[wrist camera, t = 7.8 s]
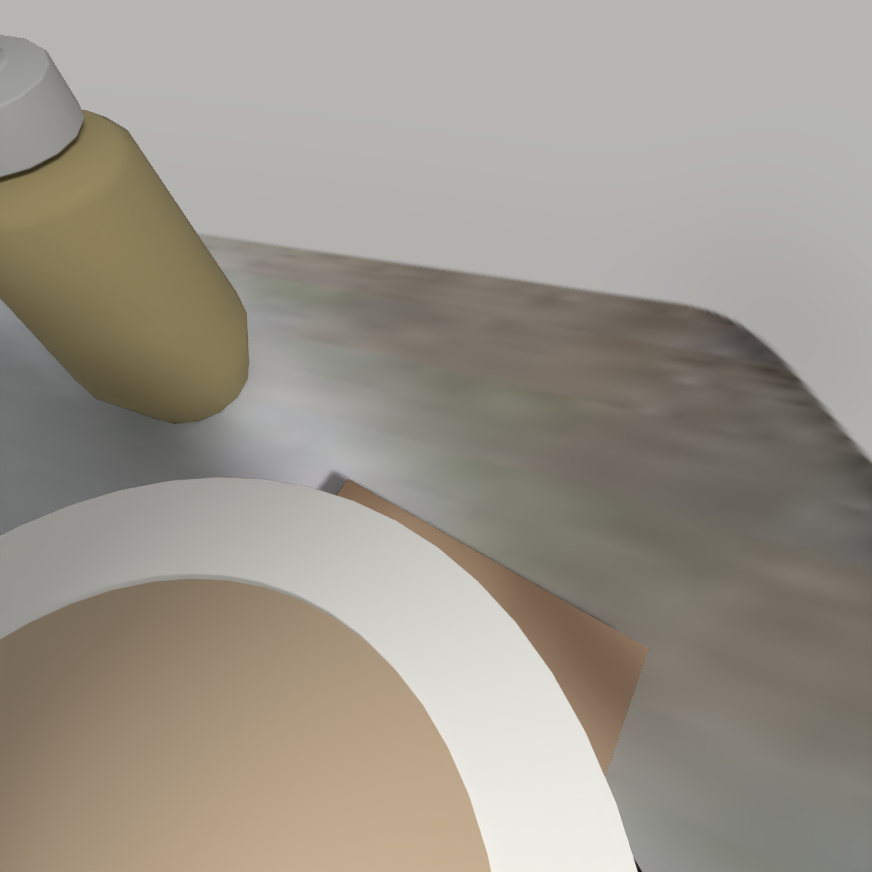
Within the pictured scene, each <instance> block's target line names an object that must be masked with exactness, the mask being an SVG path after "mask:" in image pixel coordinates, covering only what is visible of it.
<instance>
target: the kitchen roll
mask: <svg viewBox="0 0 872 872" xmlns="http://www.w3.org/2000/svg"><path fill="white" fill-rule="evenodd" d="M0 872H638V871H637V868H636V865H635V862H634V858H633V855H632V852H631V849H630V846H629V843H628V839H627V836H626V833H625V830H624V827H623V824H622V820H621V817H620V814H619V811H618V808H617V805H616V802H615V800H614V797H613V795H612V793H611V790H610V788H609V786H608V783H607V781H606V779H605V776H604V774H603V772H602V769H601V767H600V765H599V762H598V760H597V758H596V755H595V753H594V751H593V748H592V746H591V744H590V741H589V739H588V737H587V734H586V732H585V730H584V729H583V727H582V725H581V723H580V721H579V720H578V718H577V716H576V714H575V713H574V711H573V709H572V707H571V705H570V704H569V702H568V700H567V698H566V697H565V695H564V693H563V691H562V689H561V688H560V686H559V684H558V682H557V681H556V679H555V677H554V675H553V673H552V672H551V671H550V669H549V668H548V666H547V665H546V664H545V662H544V661H543V659H542V658H541V657H540V655H539V654H538V652H537V651H536V650H535V648H534V647H533V646H532V644H531V643H530V641H529V640H528V639H527V637H526V636H525V634H524V633H523V632H522V630H521V629H520V628H519V626H518V625H517V623H516V622H515V621H514V620H513V619H512V618H511V617H510V616H509V615H508V613H507V612H506V611H505V610H504V609H503V608H502V607H501V606H500V605H499V604H498V603H497V602H496V600H495V599H494V598H493V597H492V596H491V595H490V594H489V593H488V592H487V591H486V590H485V589H484V587H483V586H482V585H481V584H480V583H479V582H478V581H477V580H476V579H475V578H473V577H472V576H471V575H470V574H469V573H467V572H466V571H465V570H464V569H463V568H462V567H460V566H459V565H458V564H457V563H456V562H454V561H453V560H452V559H451V558H450V557H448V556H447V555H446V554H445V553H444V552H443V551H441V550H440V549H439V548H438V547H436V546H435V545H433V544H432V543H430V542H428V541H427V540H425V539H424V538H422V537H421V536H419V535H418V534H416V533H414V532H413V531H411V530H410V529H408V528H407V527H405V526H403V525H402V524H400V523H399V522H397V521H395V520H393V519H391V518H389V517H387V516H385V515H383V514H380V513H378V512H376V511H374V510H372V509H370V508H368V507H365V506H363V505H361V504H359V503H357V502H355V501H352V500H349V499H346V498H343V497H339V496H336V495H333V494H330V493H327V492H323V491H320V490H317V489H314V488H311V487H306V486H300V485H294V484H289V483H283V482H277V481H271V480H266V479H248V478H226V477H212V478H199V479H185V480H172V481H165V482H160V483H155V484H149V485H144V486H139V487H134V488H128V489H123V490H119V491H115V492H112V493H109V494H105V495H102V496H99V497H95V498H92V499H89V500H85V501H82V502H79V503H75V504H72V505H69V506H67V507H64V508H62V509H59V510H57V511H55V512H52V513H50V514H47V515H45V516H42V517H40V518H37V519H35V520H33V521H30V522H28V523H25V524H23V525H20V526H18V527H16V528H14V529H12V530H10V531H8V532H6V533H5V534H3V535H1V536H0Z"/></svg>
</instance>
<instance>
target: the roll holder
mask: <svg viewBox="0 0 872 872" xmlns="http://www.w3.org/2000/svg"><path fill="white" fill-rule="evenodd" d="M336 496H339V497H343V498H346V499H349V500H352V501H355V502H357V503H359V504H361V505H363V506H365V507H368V508H370V509H372V510H374V511H376V512H378V513H380V514H383V515H385V516H387V517H389V518H391V519H393V520H395V521H397V522H399V523H400V524H402V525H403V526H405V527H407V528H408V529H410V530H411V531H413V532H414V533H416V534H418V535H419V536H421V537H422V538H424V539H425V540H427V541H428V542H430V543H432V544H433V545H435V546H436V547H438V548H439V549H440V550H441V551H443V552H444V553H445V554H446V555H447V556H448V557H450V558H451V559H452V560H453V561H454V562H456V563H457V564H458V565H459V566H460V567H462V568H463V569H464V570H465V571H466V572H467V573H469V574H470V575H471V576H472V577H473V578H475V579H476V580H477V581H478V582H479V583H480V584H481V585H482V586H483V587H484V589H485V590H486V591H487V592H488V593H489V594H490V595H491V596H492V597H493V598H494V599H495V600H496V602H497V603H498V604H499V605H500V606H501V607H502V608H503V609H504V610H505V611H506V612H507V613H508V615H509V616H510V617H511V618H512V619H513V620H514V621H515V622H516V623H517V625H518V626H519V628H520V629H521V630H522V632H523V633H524V634H525V636H526V637H527V639H528V640H529V641H530V643H531V644H532V646H533V647H534V648H535V650H536V651H537V652H538V654H539V655H540V657H541V658H542V659H543V661H544V662H545V664H546V665H547V666H548V668H549V669H550V671H551V672H552V673H553V675H554V677H555V679H556V681H557V682H558V684H559V686H560V688H561V689H562V691H563V693H564V695H565V697H566V698H567V700H568V702H569V704H570V705H571V707H572V709H573V711H574V713H575V714H576V716H577V718H578V720H579V721H580V723H581V725H582V727H583V729H584V730H585V732H586V734H587V737H588V739H589V741H590V744H591V746H592V748H593V751H594V753H595V755H596V758H597V760H598V762H599V765H600V767H601V769H602V772H603V774H604V776H606V773H607V770H608V767H609V764H610V761H611V758H612V755H613V752H614V749H615V746H616V743H617V740H618V737H619V734H620V731H621V728H622V725H623V723H624V720H625V717H626V714H627V711H628V708H629V705H630V702H631V699H632V696H633V693H634V690H635V687H636V684H637V681H638V678H639V675H640V672H641V669H642V667H643V664H644V661H645V658H646V655H647V652H648V648H647V647H645V646H643V645H641V644H639V643H638V642H636V641H634V640H632V639H631V638H629V637H627V636H625V635H624V634H622V633H620V632H618V631H616V630H615V629H613V628H611V627H609V626H608V625H606V624H604V623H602V622H601V621H599V620H597V619H595V618H593V617H592V616H590V615H588V614H586V613H585V612H583V611H581V610H579V609H578V608H576V607H574V606H572V605H570V604H569V603H567V602H565V601H563V600H562V599H560V598H558V597H556V596H555V595H553V594H551V593H549V592H547V591H546V590H544V589H542V588H540V587H539V586H537V585H535V584H533V583H531V582H530V581H528V580H526V579H524V578H523V577H521V576H519V575H517V574H516V573H514V572H512V571H510V570H508V569H507V568H505V567H503V566H501V565H500V564H498V563H496V562H494V561H493V560H491V559H489V558H487V557H485V556H484V555H482V554H480V553H478V552H477V551H475V550H473V549H471V548H470V547H468V546H466V545H464V544H462V543H461V542H459V541H457V540H455V539H454V538H452V537H450V536H448V535H447V534H445V533H443V532H441V531H439V530H438V529H436V528H434V527H432V526H431V525H429V524H427V523H425V522H424V521H422V520H420V519H418V518H416V517H415V516H413V515H411V514H409V513H408V512H406V511H404V510H402V509H400V508H399V507H397V506H395V505H393V504H392V503H390V502H388V501H386V500H385V499H383V498H381V497H379V496H377V495H376V494H374V493H372V492H370V491H369V490H367V489H365V488H363V487H362V486H360V485H358V484H356V483H354V482H353V481H351V480H349V479H348V480H347V481H346V483H345V484H344V486H343V487H342V488H341V490H340V491H339V493H338V494H337V495H336Z"/></svg>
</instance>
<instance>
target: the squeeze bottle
mask: <svg viewBox="0 0 872 872" xmlns="http://www.w3.org/2000/svg"><path fill="white" fill-rule="evenodd" d="M0 298H1V299H2V300H3V302H4V303H5V304H6V305H7V306H8V307H9V308H10V309H11V310H12V311H13V312H14V314H15V315H16V316H17V317H18V318H19V319H20V320H21V321H22V322H23V323H24V324H25V326H26V327H27V328H28V329H29V330H30V331H31V332H32V333H33V334H34V335H35V336H36V338H37V339H38V340H39V341H40V342H41V343H42V344H43V345H44V346H45V347H46V348H47V349H48V351H49V352H50V353H51V354H52V355H53V356H54V357H55V358H56V359H57V360H58V361H59V363H60V364H61V365H62V366H63V367H64V368H65V369H66V370H67V371H68V372H69V373H70V375H71V376H72V377H73V378H74V379H75V380H76V381H77V382H78V383H79V384H80V385H82V386H83V387H84V388H85V389H86V390H87V391H88V392H89V393H90V394H92V395H93V396H94V397H95V398H96V399H99V400H102V401H105V402H108V403H111V404H114V405H117V406H120V407H123V408H126V409H128V410H131V411H134V412H137V413H140V414H143V415H146V416H149V417H152V418H155V419H159V420H163V421H167V422H170V423H174V424H177V423H187V422H196V421H200V420H202V419H205V418H207V417H209V416H212V415H214V414H216V413H219V412H221V411H222V410H223V409H224V408H225V407H226V406H227V405H229V404H230V403H231V402H232V401H233V400H234V399H236V398H237V397H238V395H239V393H240V392H241V390H242V388H243V386H244V384H245V383H246V381H247V378H248V366H249V355H248V331H247V313H246V311H245V309H244V307H243V305H242V303H241V301H240V298H239V296H238V294H237V292H236V291H235V289H234V288H233V286H232V285H231V283H230V282H229V280H228V279H227V277H226V276H225V274H224V273H223V272H222V270H221V269H220V267H219V266H218V264H217V263H216V261H215V260H214V258H213V257H212V255H211V254H210V252H209V251H208V249H207V248H206V246H205V245H204V243H203V242H202V240H201V239H200V237H199V236H198V234H197V233H196V231H195V230H194V228H193V227H192V225H191V224H190V222H189V221H188V219H187V218H186V216H185V215H184V214H183V212H182V211H181V209H180V207H179V206H178V204H177V203H176V202H175V200H174V198H173V197H172V196H171V194H170V193H169V191H168V190H167V188H166V187H165V185H164V184H163V182H162V181H161V179H160V178H159V176H158V175H157V173H156V172H155V170H154V169H153V167H152V166H151V164H150V163H149V161H148V160H147V158H146V157H145V155H144V154H143V152H142V151H141V149H140V148H139V146H138V145H137V143H136V142H135V140H134V139H133V137H132V136H131V134H130V133H129V132H128V130H126V129H125V128H123V127H121V126H120V125H118V124H116V123H115V122H113V121H111V120H110V119H108V118H106V117H104V116H101V115H98V114H95V113H93V112H90V111H87V110H81V108H80V105H79V103H78V101H77V100H76V98H75V97H74V95H73V93H72V92H71V90H70V88H69V87H68V85H67V84H66V82H65V80H64V78H63V77H62V75H61V74H60V72H59V70H58V69H57V67H56V65H55V64H54V62H53V61H52V59H51V57H50V56H49V54H48V52H47V51H46V50H44V49H43V48H41V47H39V46H37V45H36V44H34V43H32V42H30V41H28V40H26V39H24V38H17V37H10V36H3V35H0Z"/></svg>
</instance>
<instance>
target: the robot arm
mask: <svg viewBox="0 0 872 872" xmlns="http://www.w3.org/2000/svg"><path fill="white" fill-rule="evenodd" d="M634 862H635V865H636V868H637V871H638V872H642V871H641V869H640V867H639V866H638V864H637V862H636V861H635V859H634Z"/></svg>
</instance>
